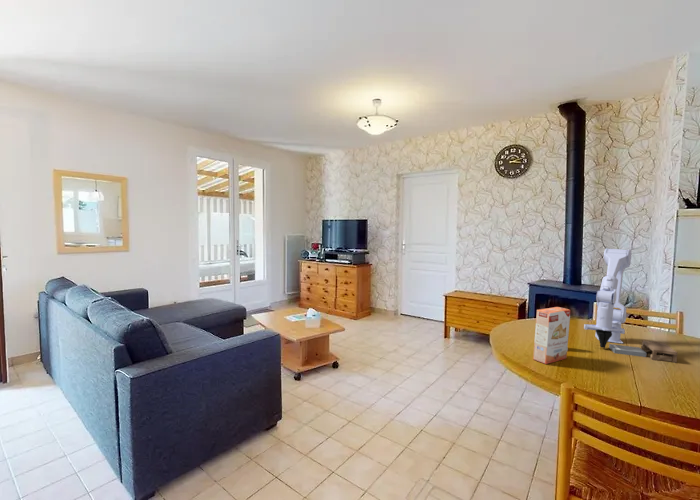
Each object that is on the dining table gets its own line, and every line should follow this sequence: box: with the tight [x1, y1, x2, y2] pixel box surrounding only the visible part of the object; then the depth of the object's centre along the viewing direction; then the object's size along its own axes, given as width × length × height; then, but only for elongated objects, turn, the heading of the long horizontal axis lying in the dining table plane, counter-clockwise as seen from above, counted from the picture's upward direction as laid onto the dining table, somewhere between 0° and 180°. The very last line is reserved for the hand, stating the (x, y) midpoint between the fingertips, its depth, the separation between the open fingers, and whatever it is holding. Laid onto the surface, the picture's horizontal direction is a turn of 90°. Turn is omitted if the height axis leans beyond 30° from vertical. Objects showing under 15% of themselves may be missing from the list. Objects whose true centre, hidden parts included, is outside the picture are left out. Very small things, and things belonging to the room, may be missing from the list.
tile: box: [608, 343, 647, 358], centre depth 150 cm, size 11×7×2 cm, turn 69°
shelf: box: [640, 340, 678, 364], centre depth 145 cm, size 8×12×4 cm, turn 157°
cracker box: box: [532, 306, 571, 365], centre depth 140 cm, size 14×6×21 cm, turn 117°
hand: (602, 346), depth 153 cm, fingers closed
